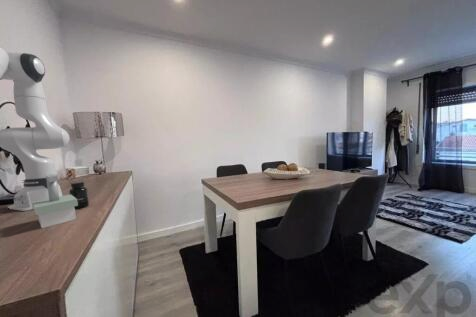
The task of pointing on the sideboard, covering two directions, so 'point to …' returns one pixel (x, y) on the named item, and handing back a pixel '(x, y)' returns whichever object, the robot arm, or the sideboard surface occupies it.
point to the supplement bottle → (79, 194)
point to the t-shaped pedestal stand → (53, 198)
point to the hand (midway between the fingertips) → (3, 173)
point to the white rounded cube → (56, 217)
